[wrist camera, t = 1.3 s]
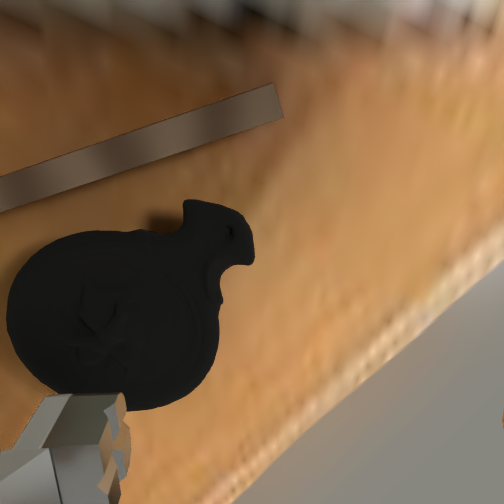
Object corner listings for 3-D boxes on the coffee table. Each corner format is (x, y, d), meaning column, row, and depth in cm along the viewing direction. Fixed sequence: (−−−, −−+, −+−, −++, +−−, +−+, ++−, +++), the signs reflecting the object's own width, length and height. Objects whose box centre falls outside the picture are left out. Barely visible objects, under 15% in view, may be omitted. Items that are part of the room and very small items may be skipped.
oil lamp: (311, 278, 35) (319, 309, 31) (132, 412, 40) (116, 456, 35) (177, 125, 32) (163, 133, 27) (-4, 293, 36) (-43, 325, 31)
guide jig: (271, 82, 30) (274, 83, 26) (330, 282, 35) (341, 312, 31) (-161, 231, 34) (-227, 255, 30) (-54, 392, 39) (-96, 434, 35)
